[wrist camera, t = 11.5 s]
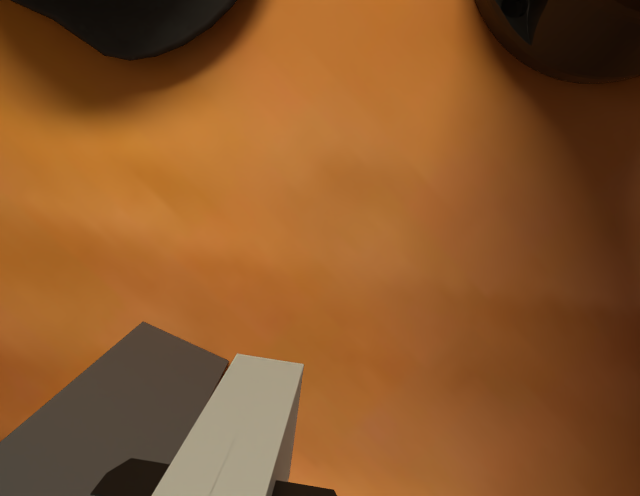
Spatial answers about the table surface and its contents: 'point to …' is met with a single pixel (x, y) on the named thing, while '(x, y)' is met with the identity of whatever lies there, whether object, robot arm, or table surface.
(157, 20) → the casserole
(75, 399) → the switch panel
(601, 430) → the table surface
